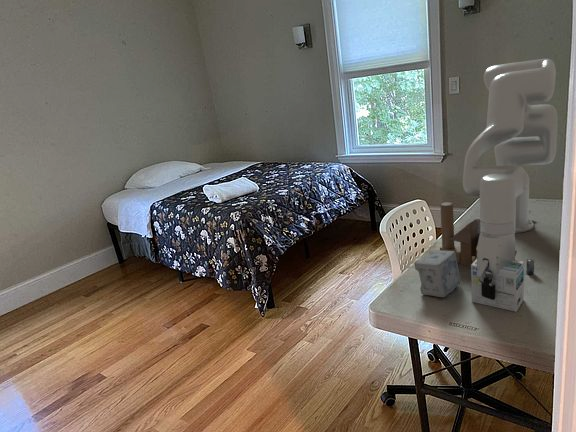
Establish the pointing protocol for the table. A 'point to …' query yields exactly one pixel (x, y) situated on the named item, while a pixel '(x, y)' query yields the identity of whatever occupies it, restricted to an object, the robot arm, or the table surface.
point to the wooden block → (458, 236)
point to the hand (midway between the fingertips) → (497, 290)
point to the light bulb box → (501, 286)
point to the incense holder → (438, 273)
